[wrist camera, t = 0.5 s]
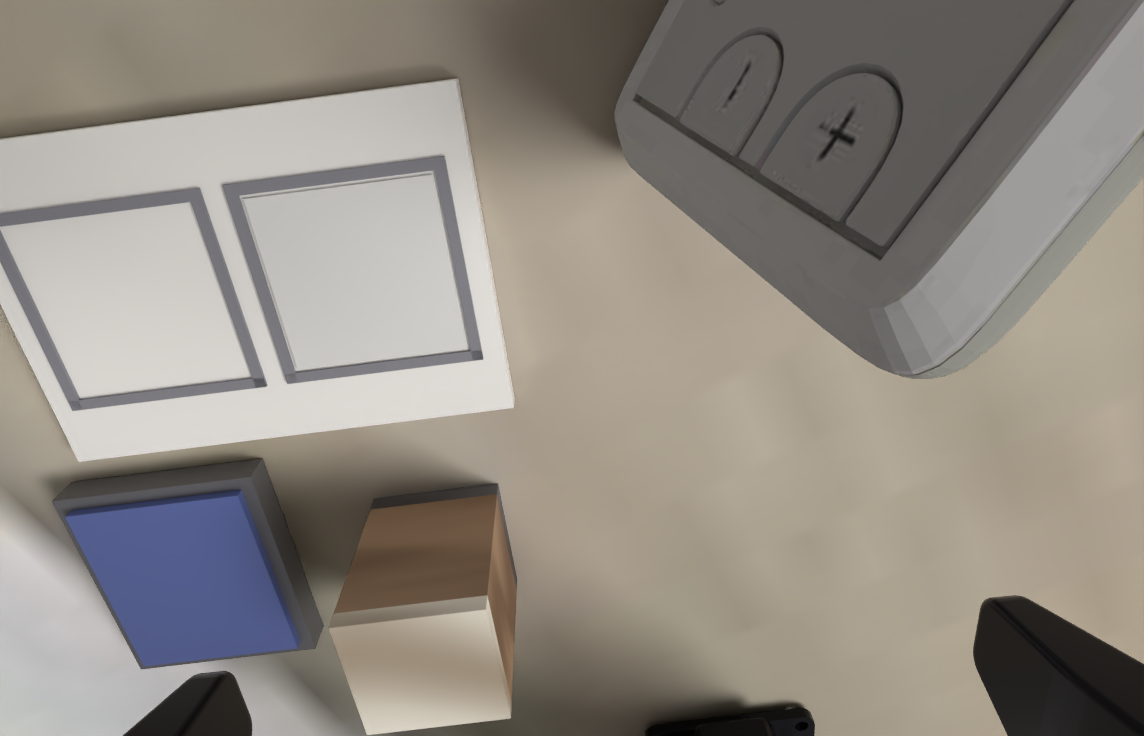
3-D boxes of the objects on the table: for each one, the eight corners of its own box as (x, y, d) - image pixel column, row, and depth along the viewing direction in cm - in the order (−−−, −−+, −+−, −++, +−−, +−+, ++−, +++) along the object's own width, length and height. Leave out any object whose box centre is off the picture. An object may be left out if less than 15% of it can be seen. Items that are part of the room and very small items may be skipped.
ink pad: (323, 626, 25) (312, 655, 24) (155, 646, 25) (136, 676, 24) (262, 458, 22) (246, 483, 21) (71, 482, 22) (45, 507, 21)
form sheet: (514, 398, 22) (513, 409, 21) (90, 451, 22) (76, 463, 21) (458, 78, 18) (455, 79, 17) (-58, 146, 18) (-80, 150, 17)
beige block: (517, 579, 25) (510, 718, 20) (402, 592, 25) (367, 735, 20) (497, 483, 23) (485, 609, 18) (374, 498, 23) (328, 628, 18)
